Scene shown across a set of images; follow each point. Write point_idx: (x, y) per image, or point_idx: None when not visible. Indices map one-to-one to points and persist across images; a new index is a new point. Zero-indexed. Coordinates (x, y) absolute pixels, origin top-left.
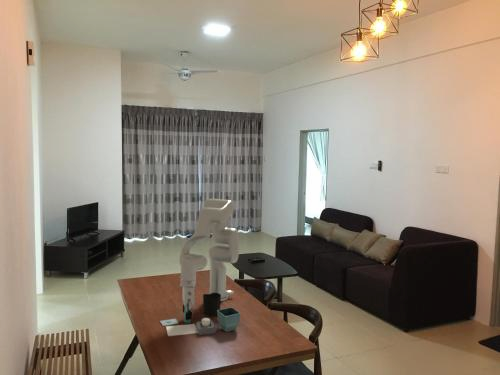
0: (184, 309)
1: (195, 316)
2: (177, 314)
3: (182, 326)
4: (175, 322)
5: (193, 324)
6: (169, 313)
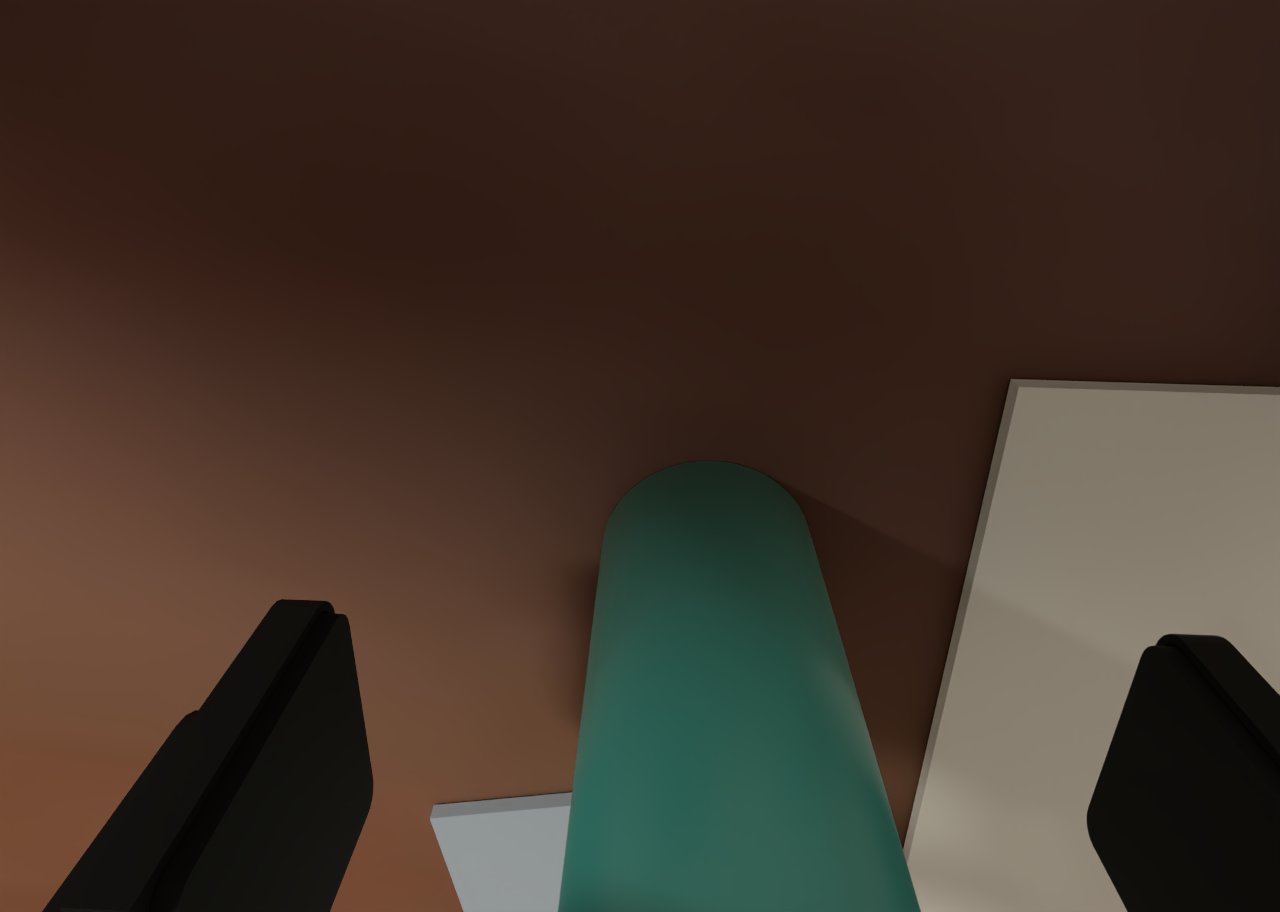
0: (322, 863)
1: (270, 206)
2: (92, 715)
3: (1039, 742)
4: None
5: (1041, 432)
6: (32, 865)
